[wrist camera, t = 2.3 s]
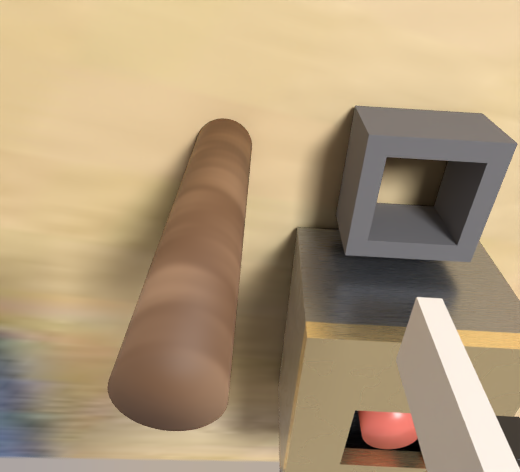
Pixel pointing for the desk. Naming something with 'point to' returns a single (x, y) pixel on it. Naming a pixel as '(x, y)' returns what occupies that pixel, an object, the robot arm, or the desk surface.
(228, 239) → the brown rounded rod
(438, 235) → the holder
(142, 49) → the desk surface
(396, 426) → the pink rubber ball
